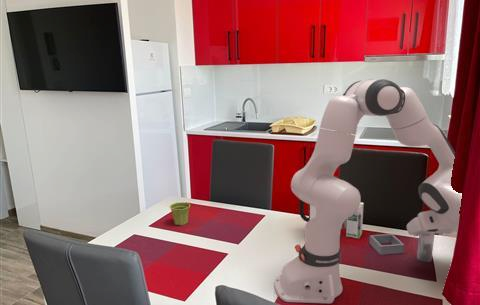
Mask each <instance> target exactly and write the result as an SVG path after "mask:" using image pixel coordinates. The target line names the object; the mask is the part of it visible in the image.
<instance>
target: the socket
mask: <svg viewBox="0 0 480 305" xmlns="http://www.w3.org/2000/svg"><path fill="white" fill-rule="evenodd" d="M368 243H369V244H370V246H371V247H372V248H373V249H374V251H376V252H377V253H378V254H379V255H380V256H383V255H394V254H396V255H397V254H404V253H405V245H406V244H404V243H403V242H402V241H401V240H400V239H398V238H397V237H396V236H395V235H394V234H393V233H387V234H373V235H369V242H368ZM390 243H391V244H390ZM382 244H383V245H382Z"/></svg>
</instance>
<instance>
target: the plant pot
mask: <svg viewBox="0 0 480 305" xmlns="http://www.w3.org/2000/svg"><path fill="white" fill-rule="evenodd" d="M190 207H191V204H190V203H189V202H183V201H181V202H175V203H172V204H170V206H169V208H170V210H171V213H172V217H173V222H174V225H176V226H177V225H178V226H185V225H187V223H188V222H189V211H190Z"/></svg>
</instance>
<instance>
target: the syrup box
mask: <svg viewBox="0 0 480 305" xmlns="http://www.w3.org/2000/svg"><path fill="white" fill-rule="evenodd" d="M363 218H364V202H361V201H360V206H359V208H358V210H357V211H356V212H355V213H354V214H353V215H352V216H350V217H348V218H347V229H345V237H349V238H354V239H360V238H361V236H362V233H363Z"/></svg>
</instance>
